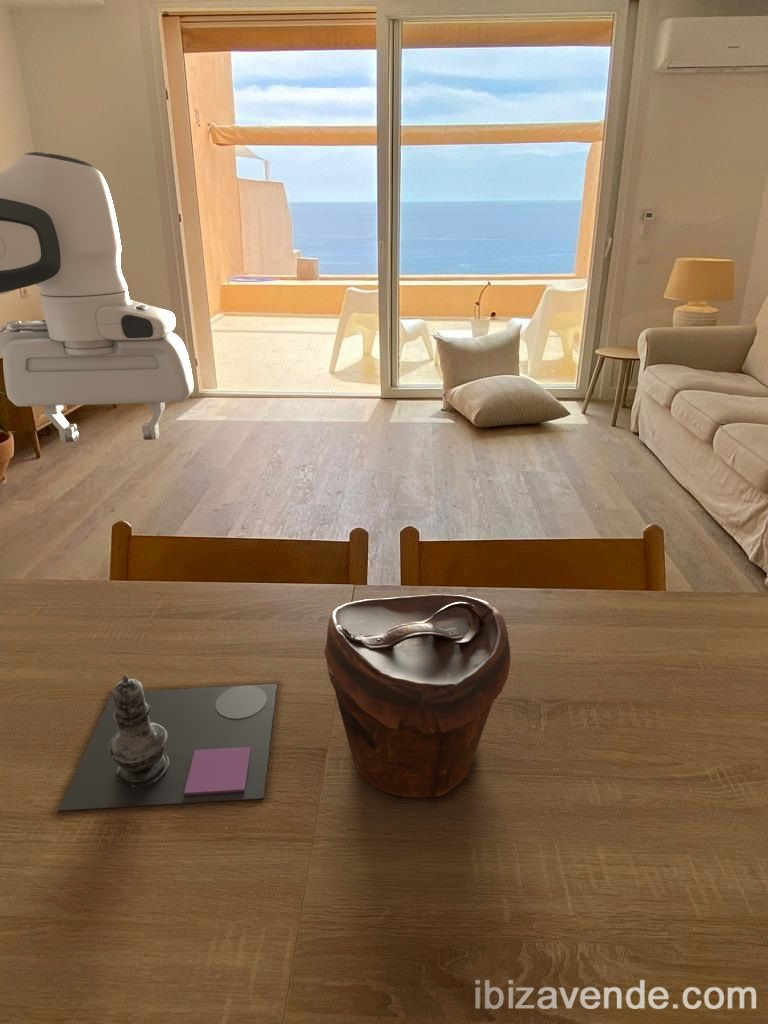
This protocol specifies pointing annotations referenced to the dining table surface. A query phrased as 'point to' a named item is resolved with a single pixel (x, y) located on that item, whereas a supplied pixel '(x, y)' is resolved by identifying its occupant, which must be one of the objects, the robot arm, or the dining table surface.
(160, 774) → the chess piece
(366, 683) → the brown pot
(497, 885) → the dining table surface
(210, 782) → the pink square tile
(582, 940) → the dining table surface
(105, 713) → the mat
